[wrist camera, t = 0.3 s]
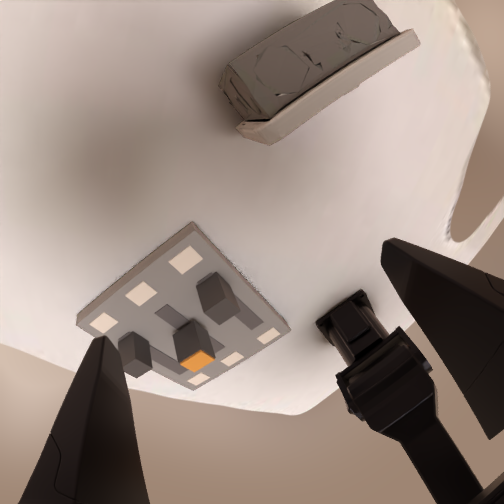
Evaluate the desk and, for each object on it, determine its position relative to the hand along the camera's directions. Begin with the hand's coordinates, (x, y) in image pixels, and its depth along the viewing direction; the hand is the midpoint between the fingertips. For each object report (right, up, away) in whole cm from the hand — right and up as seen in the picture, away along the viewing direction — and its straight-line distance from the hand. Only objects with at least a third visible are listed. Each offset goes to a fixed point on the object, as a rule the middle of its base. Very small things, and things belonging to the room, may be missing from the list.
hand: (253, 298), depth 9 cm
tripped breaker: (-5, -6, +18) cm, 19 cm away
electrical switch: (+1, +13, +9) cm, 16 cm away
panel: (-6, -5, +19) cm, 21 cm away
